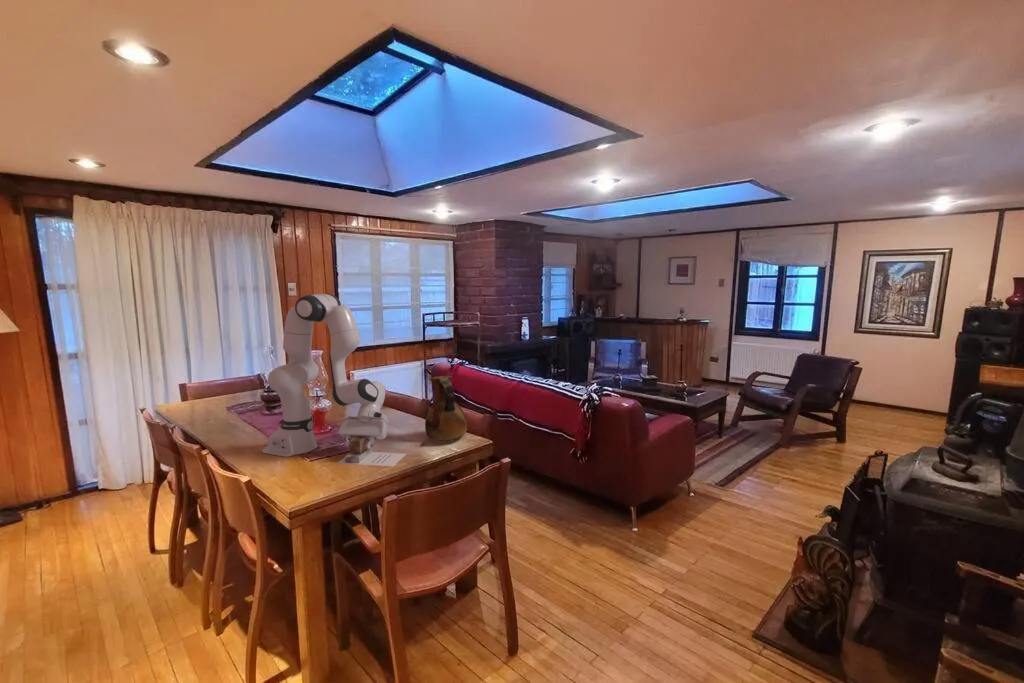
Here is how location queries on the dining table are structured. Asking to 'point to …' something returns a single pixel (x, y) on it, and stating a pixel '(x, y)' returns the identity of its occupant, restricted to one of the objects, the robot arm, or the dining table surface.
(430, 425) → the ceramic pitcher
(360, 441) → the sanding block
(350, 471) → the dining table surface
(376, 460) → the board
